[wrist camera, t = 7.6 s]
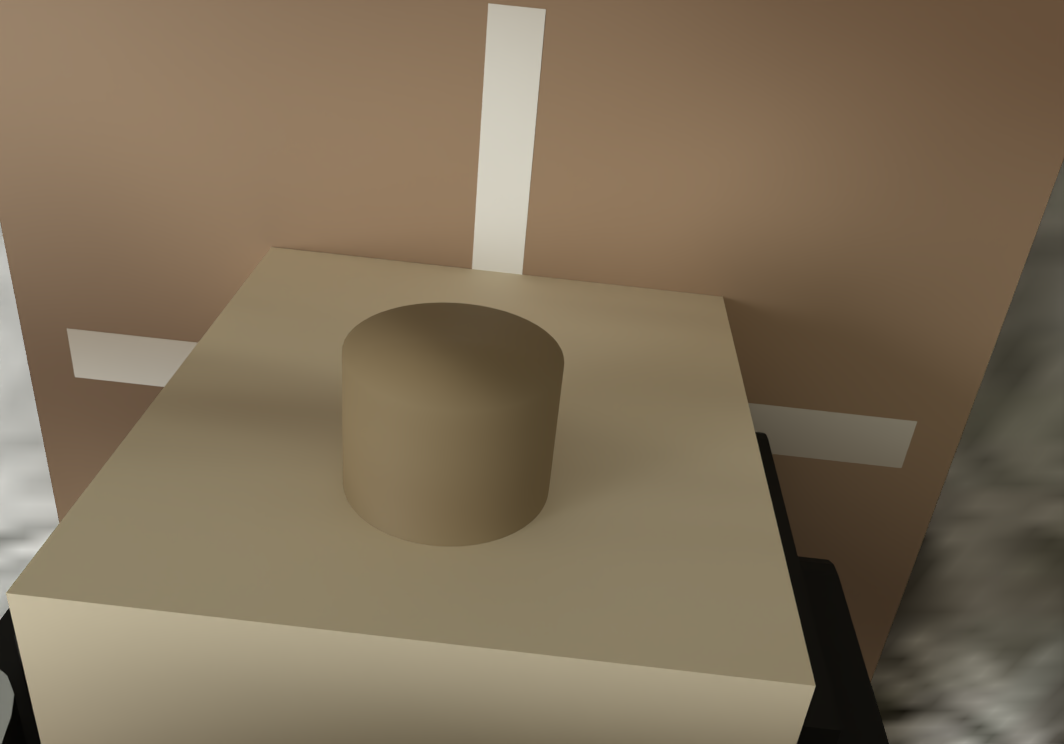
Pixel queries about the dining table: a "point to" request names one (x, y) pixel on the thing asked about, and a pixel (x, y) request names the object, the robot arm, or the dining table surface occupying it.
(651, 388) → the cream knobbed box
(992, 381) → the dining table surface
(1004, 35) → the board
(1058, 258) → the dining table surface
